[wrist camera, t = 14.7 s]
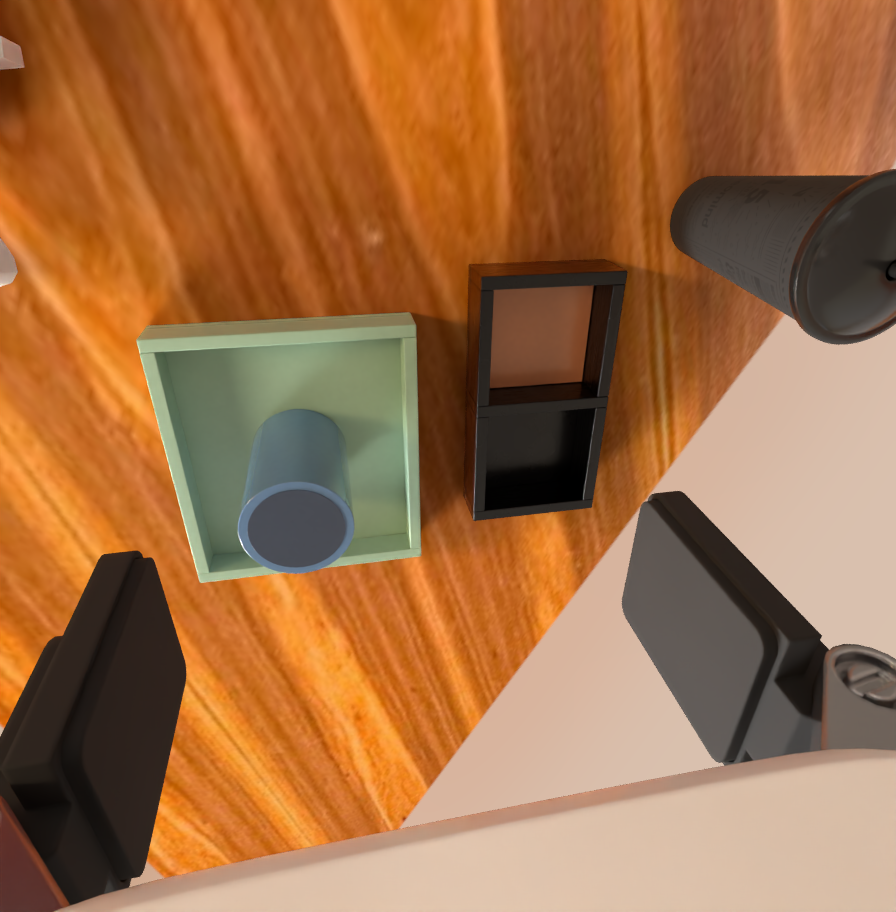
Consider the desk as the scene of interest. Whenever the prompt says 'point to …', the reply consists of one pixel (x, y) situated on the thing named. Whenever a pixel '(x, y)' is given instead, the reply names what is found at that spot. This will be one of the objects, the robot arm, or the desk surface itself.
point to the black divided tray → (538, 383)
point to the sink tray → (279, 389)
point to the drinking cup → (800, 246)
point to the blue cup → (297, 494)
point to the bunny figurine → (3, 265)
